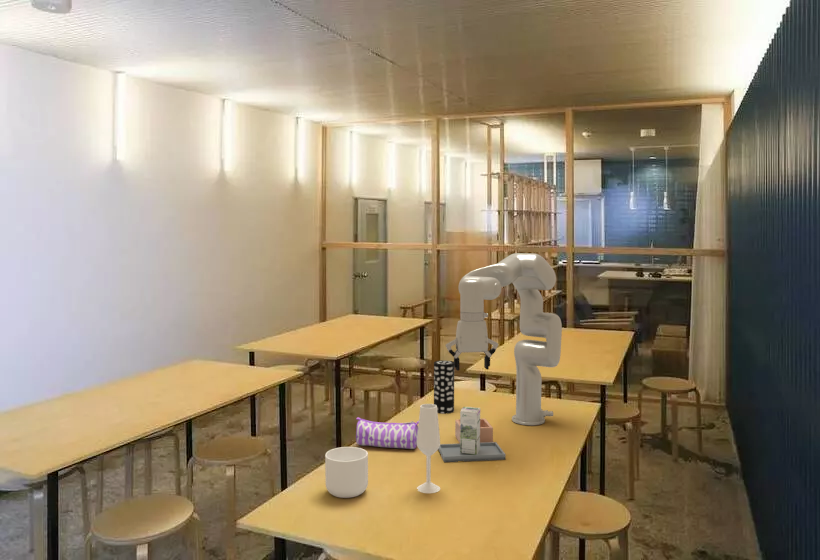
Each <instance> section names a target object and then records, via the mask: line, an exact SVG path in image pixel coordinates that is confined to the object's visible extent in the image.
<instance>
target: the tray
mask: <svg viewBox="0 0 820 560" xmlns="http://www.w3.org/2000/svg"><path fill="white" fill-rule="evenodd" d="M438 450H439V451H438ZM438 450H437V451H438V453H439V452H440V453H439V455H440V454H441V455H440V457H441V459H442V461H443V463H458V461H464V462H480V461H481V462H484V461H503V460H504V461H506V456H507V455H506V452H505V451H504V450H503V449H502V448H501V446H500V445H499V443H497V441H493V442H485V443H480V451H479V452H478V454H477V455H470V454H461V453H460V443H440V447H439V449H438Z"/></svg>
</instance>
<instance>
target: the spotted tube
mask: <svg viewBox="0 0 820 560" xmlns="http://www.w3.org/2000/svg"><path fill="white" fill-rule="evenodd" d="M433 404H434V405H437V412H438V414H445V415H446V413H447V414H451V413H452V414H453V413H454V412H455V368H454V361H452V360H436V361H434V362H433Z"/></svg>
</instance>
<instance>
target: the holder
mask: <svg viewBox="0 0 820 560" xmlns="http://www.w3.org/2000/svg"><path fill="white" fill-rule="evenodd" d="M454 427H455V429H454V431H455V432H454V433H455V438H456V440H457V441H458V444H460V418H458V419H455V426H454ZM485 442H494V427H493V426H492V425H491V423H490V422H489V421H488V420H487V418H480V443H485Z"/></svg>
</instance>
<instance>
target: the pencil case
mask: <svg viewBox="0 0 820 560" xmlns="http://www.w3.org/2000/svg"><path fill="white" fill-rule="evenodd" d="M355 420H357V422H356V428H355V429H356V431H355V442H356V444H357V445H358V446H370V447H378V448H379V447H380V448H391V449H393V448H394V449H405V450H407V449H408V450H416V448H417V447H418V446H417V436H418V425H419V420H417V421H415V422H414V421H413V420H411V421H410V422H382V421H381V422H380V421H379V422H378V421H371V420H367V419H364V418H361V417H359V416H358V417H356V419H355Z"/></svg>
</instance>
